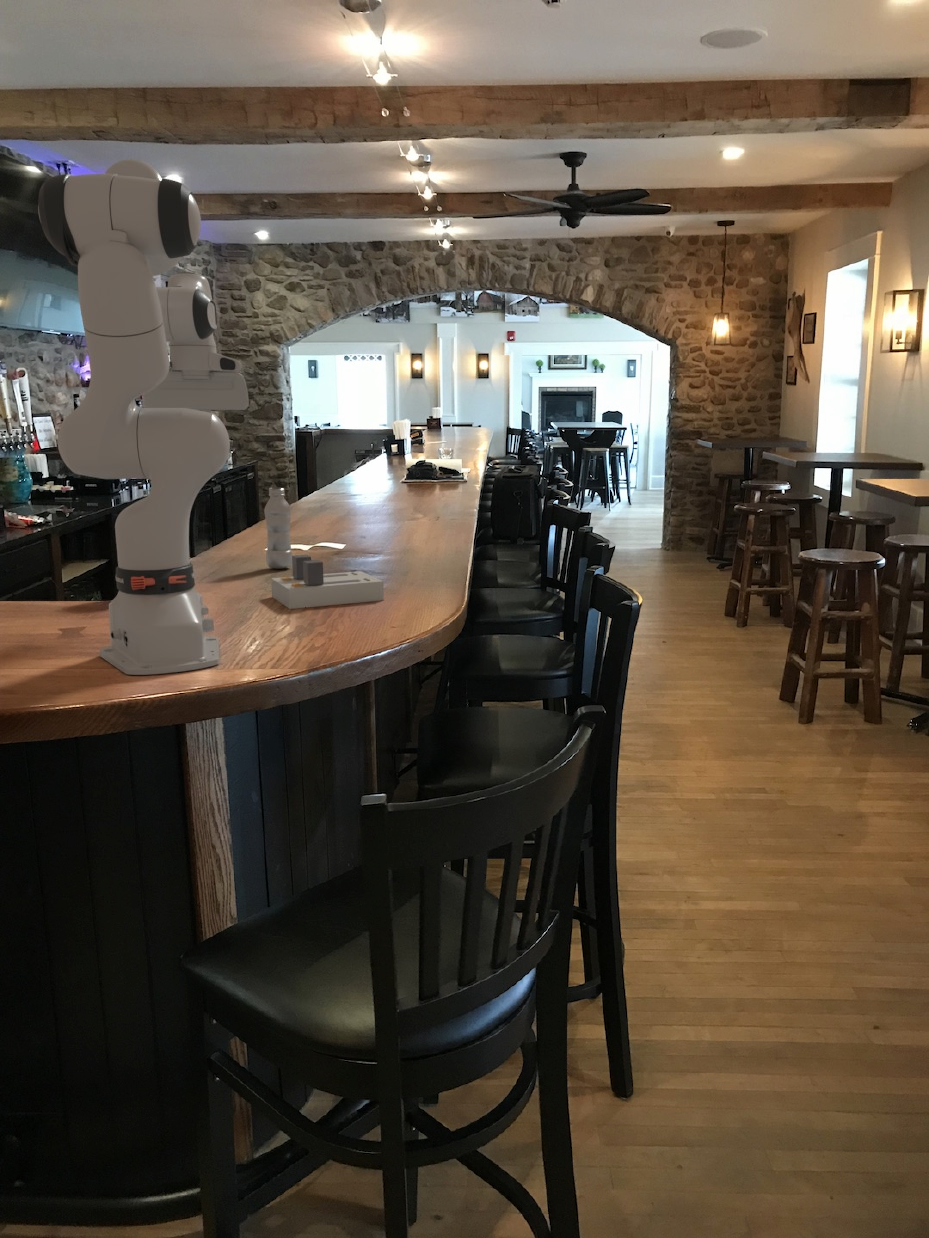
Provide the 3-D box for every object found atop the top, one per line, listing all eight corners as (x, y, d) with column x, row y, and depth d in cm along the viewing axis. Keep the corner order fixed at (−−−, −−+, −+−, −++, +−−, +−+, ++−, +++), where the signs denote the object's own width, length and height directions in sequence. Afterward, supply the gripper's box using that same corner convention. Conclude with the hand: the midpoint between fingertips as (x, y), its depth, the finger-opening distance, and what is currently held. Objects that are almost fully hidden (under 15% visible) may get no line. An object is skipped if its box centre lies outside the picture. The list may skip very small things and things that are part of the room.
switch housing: (383, 600, 194) (383, 579, 193) (289, 608, 186) (288, 587, 185) (361, 589, 207) (360, 569, 206) (271, 596, 198) (271, 576, 197)
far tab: (311, 577, 196) (311, 556, 195) (297, 579, 195) (296, 557, 194) (307, 575, 199) (306, 554, 198) (292, 576, 198) (291, 555, 197)
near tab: (323, 584, 189) (322, 562, 188) (308, 585, 188) (307, 563, 187) (318, 581, 192) (318, 559, 191) (303, 582, 191) (302, 561, 190)
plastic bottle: (265, 567, 236) (261, 487, 231) (292, 566, 238) (288, 487, 233) (267, 571, 230) (263, 489, 225) (295, 570, 232) (291, 489, 227)
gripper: (140, 360, 176) (146, 435, 179) (248, 362, 185) (252, 433, 188) (136, 361, 181) (141, 434, 184) (241, 363, 190) (245, 433, 193)
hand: (198, 434), depth 186 cm, fingers closed
